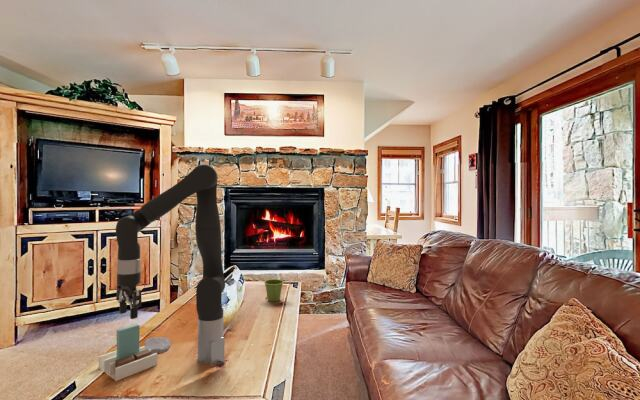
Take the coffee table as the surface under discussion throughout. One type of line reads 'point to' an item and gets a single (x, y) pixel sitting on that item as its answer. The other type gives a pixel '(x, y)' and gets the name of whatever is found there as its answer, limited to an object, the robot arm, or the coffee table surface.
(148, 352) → the offcut
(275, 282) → the plant pot
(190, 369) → the coffee table surface
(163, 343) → the stone block
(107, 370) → the rack
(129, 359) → the offcut
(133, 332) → the sheet
